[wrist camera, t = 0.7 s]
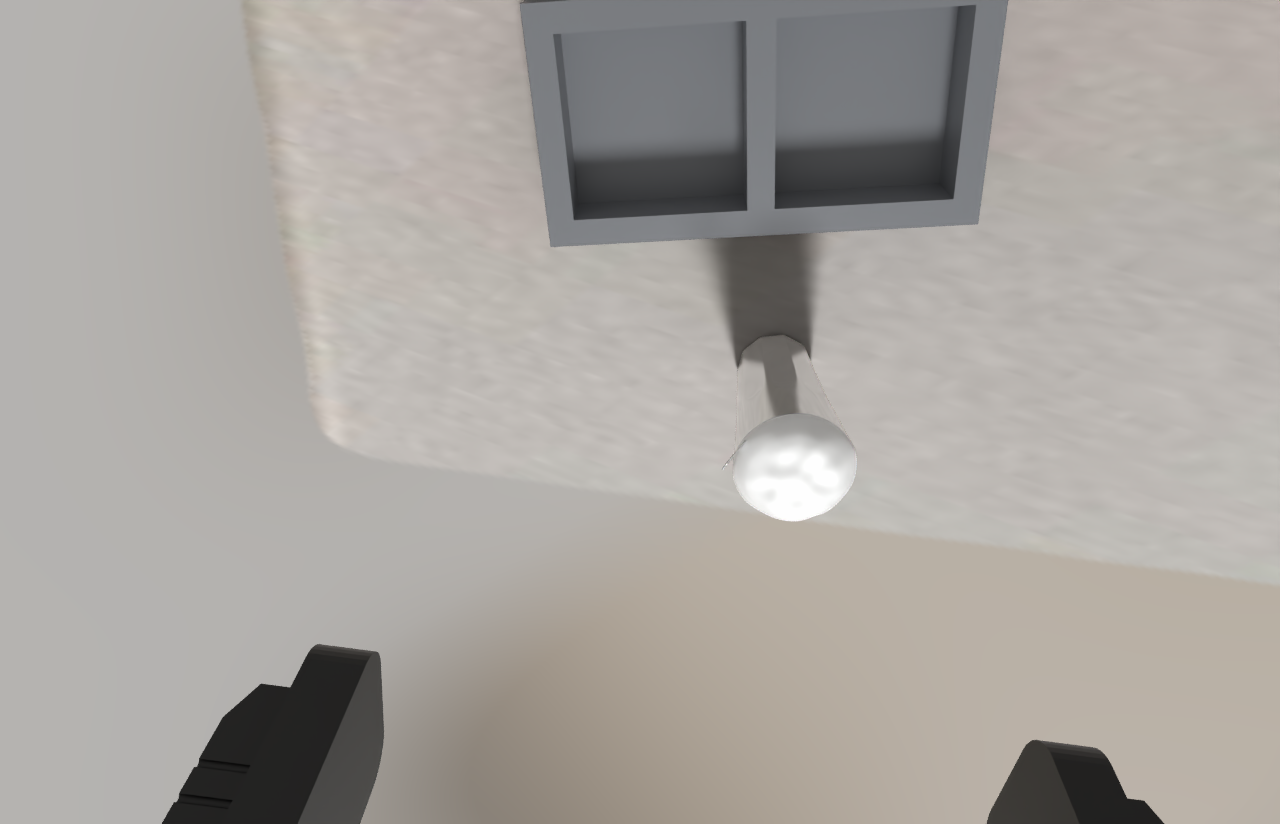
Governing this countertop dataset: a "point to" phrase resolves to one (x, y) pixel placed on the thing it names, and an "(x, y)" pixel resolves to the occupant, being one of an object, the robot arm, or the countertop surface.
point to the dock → (760, 115)
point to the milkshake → (787, 434)
